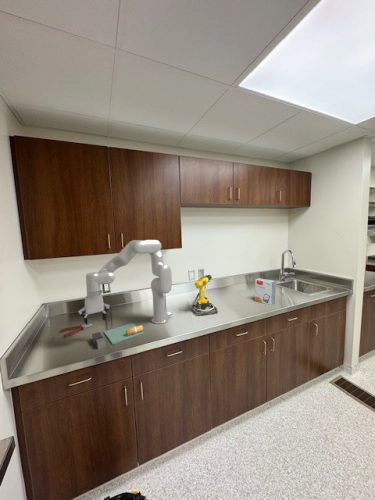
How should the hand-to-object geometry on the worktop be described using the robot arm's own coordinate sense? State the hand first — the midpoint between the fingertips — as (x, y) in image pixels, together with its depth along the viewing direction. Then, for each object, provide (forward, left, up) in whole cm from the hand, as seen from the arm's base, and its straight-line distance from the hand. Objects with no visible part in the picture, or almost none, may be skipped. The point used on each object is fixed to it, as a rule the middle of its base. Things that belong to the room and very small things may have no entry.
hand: (95, 321), depth 126 cm
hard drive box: (-134, +25, -13) cm, 136 cm away
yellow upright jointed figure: (-82, +5, -13) cm, 83 cm away
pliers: (+7, -24, -13) cm, 28 cm away
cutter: (-1, +2, -13) cm, 13 cm away
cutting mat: (-17, 0, -13) cm, 21 cm away
